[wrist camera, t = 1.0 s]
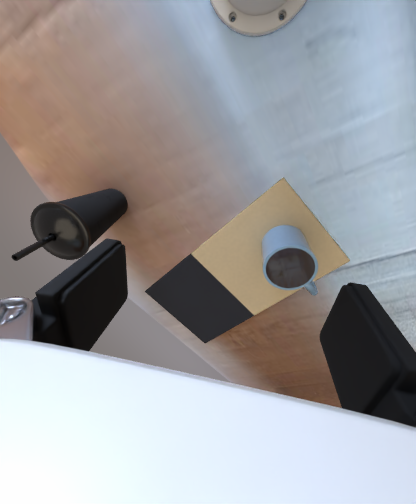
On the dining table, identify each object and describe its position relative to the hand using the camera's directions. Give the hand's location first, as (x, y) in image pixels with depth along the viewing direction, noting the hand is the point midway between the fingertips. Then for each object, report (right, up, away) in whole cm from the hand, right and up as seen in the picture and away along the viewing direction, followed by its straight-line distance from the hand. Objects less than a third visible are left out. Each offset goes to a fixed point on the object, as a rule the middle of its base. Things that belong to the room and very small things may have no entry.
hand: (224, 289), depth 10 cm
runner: (+5, -3, +34) cm, 35 cm away
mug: (+13, +2, +30) cm, 33 cm away
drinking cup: (-17, +10, +31) cm, 37 cm away
